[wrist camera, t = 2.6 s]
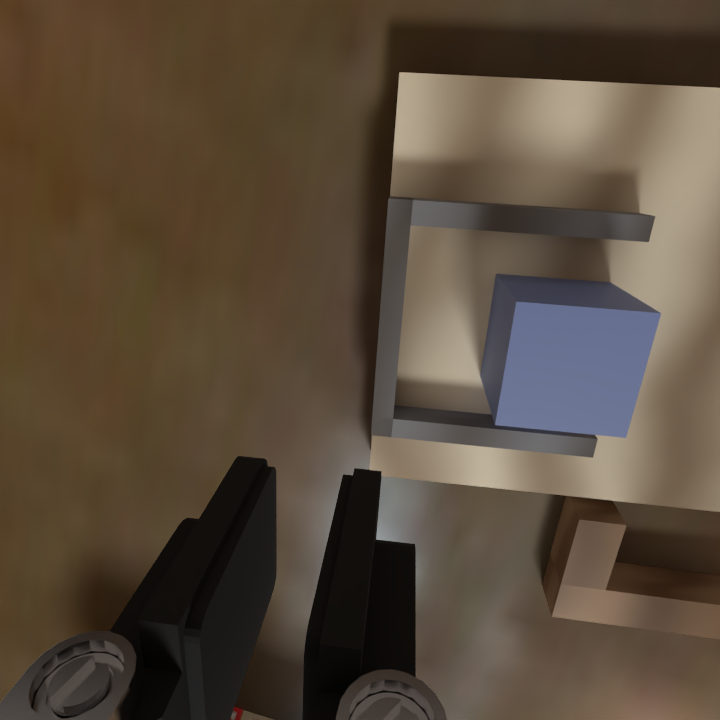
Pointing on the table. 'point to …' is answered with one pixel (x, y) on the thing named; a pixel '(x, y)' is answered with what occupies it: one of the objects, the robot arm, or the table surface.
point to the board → (550, 276)
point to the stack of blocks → (246, 715)
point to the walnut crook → (622, 579)
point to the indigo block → (565, 354)
